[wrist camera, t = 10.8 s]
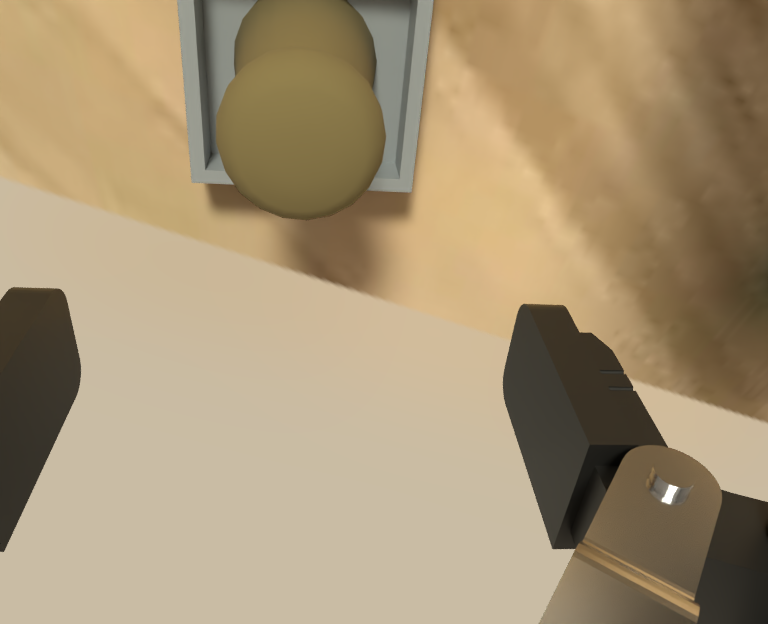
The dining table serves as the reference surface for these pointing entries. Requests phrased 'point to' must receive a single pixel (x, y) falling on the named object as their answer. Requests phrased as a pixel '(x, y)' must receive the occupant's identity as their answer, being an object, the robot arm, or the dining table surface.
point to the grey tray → (391, 87)
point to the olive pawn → (302, 108)
